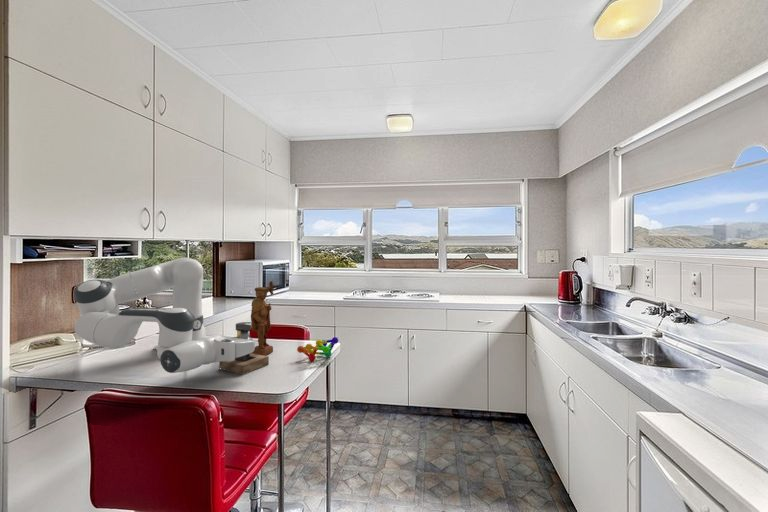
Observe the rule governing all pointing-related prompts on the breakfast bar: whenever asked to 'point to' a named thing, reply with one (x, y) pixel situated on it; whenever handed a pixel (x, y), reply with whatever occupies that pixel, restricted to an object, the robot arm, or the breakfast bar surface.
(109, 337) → the robot arm
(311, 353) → the decorative model
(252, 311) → the sculpture
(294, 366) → the breakfast bar surface
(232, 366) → the wooden stand
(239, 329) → the knob stem
